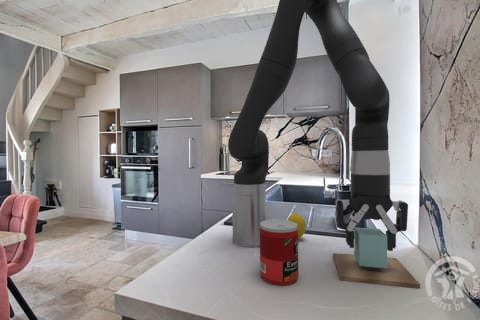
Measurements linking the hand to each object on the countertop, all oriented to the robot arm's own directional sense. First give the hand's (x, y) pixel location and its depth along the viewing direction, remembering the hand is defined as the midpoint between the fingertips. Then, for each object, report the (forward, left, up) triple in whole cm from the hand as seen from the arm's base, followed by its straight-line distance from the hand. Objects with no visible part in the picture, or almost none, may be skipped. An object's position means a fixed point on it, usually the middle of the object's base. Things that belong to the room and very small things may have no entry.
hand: (370, 248), depth 53 cm
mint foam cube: (0, 0, -3) cm, 3 cm away
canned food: (-19, -7, -5) cm, 21 cm away
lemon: (-16, +17, -5) cm, 24 cm away
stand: (0, 0, -5) cm, 5 cm away
